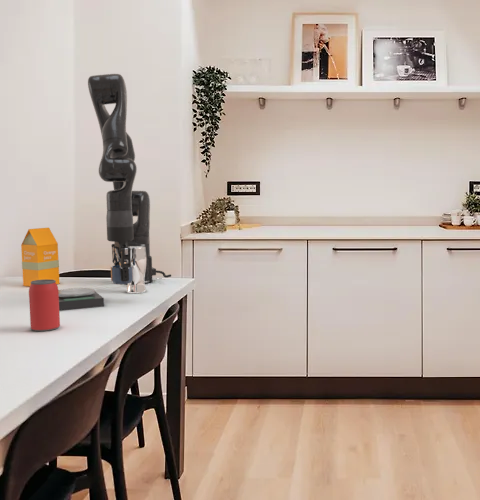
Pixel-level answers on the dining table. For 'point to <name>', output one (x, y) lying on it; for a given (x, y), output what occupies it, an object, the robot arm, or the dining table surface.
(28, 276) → the orange juice
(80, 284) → the dining table surface
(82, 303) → the scale
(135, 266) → the beer glass
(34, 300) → the beer can
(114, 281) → the cup
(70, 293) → the platter
